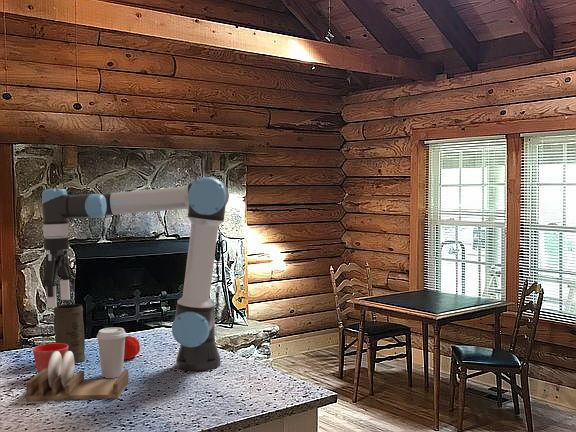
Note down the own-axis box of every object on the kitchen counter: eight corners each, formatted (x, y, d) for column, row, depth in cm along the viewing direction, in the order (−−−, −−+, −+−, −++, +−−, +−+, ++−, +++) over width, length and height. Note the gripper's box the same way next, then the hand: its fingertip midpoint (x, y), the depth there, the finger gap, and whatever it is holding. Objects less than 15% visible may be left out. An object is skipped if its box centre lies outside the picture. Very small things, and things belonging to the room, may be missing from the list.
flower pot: (57, 381, 199) (56, 351, 199) (26, 380, 201) (25, 350, 201) (75, 372, 209) (74, 343, 209) (45, 370, 212) (45, 342, 211)
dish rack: (128, 382, 197) (127, 344, 196) (117, 398, 182) (116, 356, 181) (44, 384, 196) (43, 346, 195) (26, 400, 181) (25, 358, 180)
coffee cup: (111, 381, 198) (110, 334, 198) (91, 376, 204) (89, 331, 203) (133, 374, 206) (132, 328, 206) (113, 369, 212) (112, 325, 211)
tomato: (113, 362, 222) (112, 341, 221) (114, 355, 230) (113, 335, 230) (140, 360, 224) (139, 339, 224) (140, 353, 232) (139, 333, 232)
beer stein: (93, 358, 226) (89, 303, 226) (68, 365, 217) (64, 308, 217) (65, 356, 234) (61, 302, 234) (40, 362, 225) (36, 307, 225)
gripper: (56, 235, 212) (59, 297, 213) (30, 240, 188) (33, 311, 188) (79, 234, 213) (81, 296, 214) (55, 239, 188) (58, 310, 189)
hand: (58, 303), depth 201 cm, fingers open, 13 cm apart
